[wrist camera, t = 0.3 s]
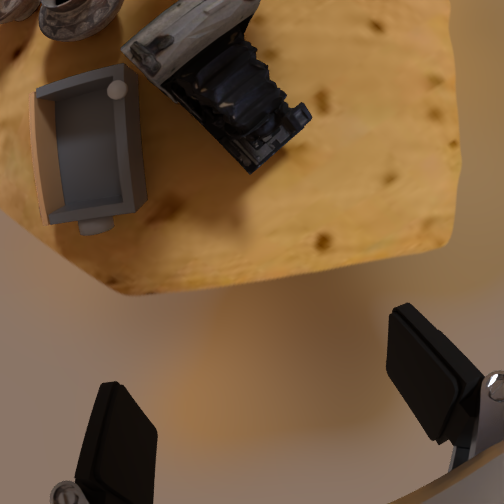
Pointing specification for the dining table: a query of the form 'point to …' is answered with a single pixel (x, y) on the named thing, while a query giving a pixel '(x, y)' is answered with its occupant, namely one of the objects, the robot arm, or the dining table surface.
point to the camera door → (45, 156)
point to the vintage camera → (218, 76)
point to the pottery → (63, 16)
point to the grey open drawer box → (98, 146)
